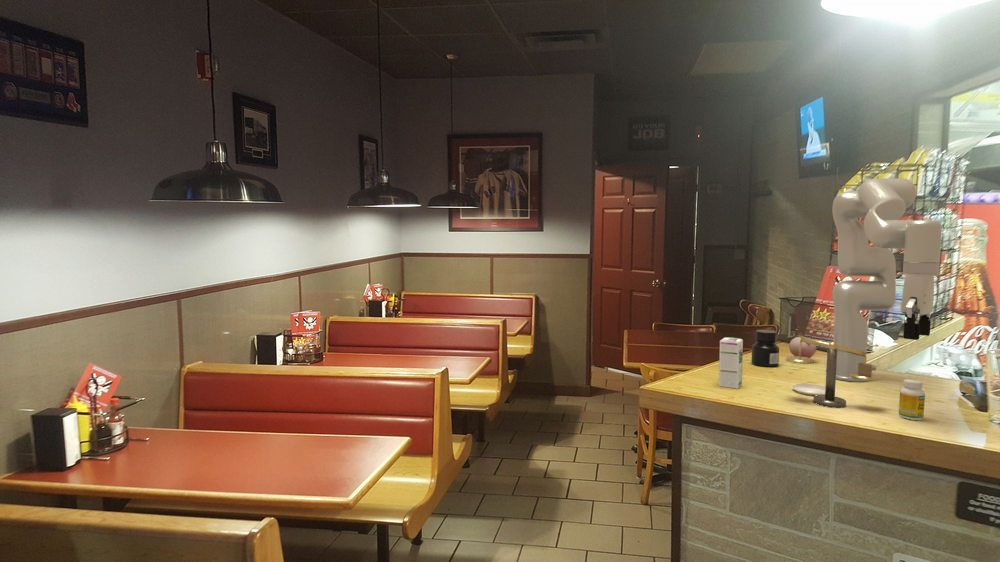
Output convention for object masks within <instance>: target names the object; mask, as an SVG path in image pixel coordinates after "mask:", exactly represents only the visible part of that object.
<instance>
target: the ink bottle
mask: <svg viewBox="0 0 1000 562" xmlns="http://www.w3.org/2000/svg"><path fill="white" fill-rule="evenodd" d="M777 333H778V332H777V331H776V330H771V329H756V330H755V342H754V343H753V344H752V346H751V364H752V365H754V366H758V367H766V368H767V367H768V368H774V367H778V366H779V365H780V364H779V363H780V361H779V360H780V347H779V346H778V345H777V337H778V334H777Z"/></svg>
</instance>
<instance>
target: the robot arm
mask: <svg viewBox="0 0 1000 562" xmlns="http://www.w3.org/2000/svg"><path fill="white" fill-rule="evenodd" d="M916 197H917V189H916V186H915V184H914V183H913V181H911V180H910V179H908V178H901V177H900V178H899V177H898V178H889V177H888V178H887V177H886V178H884V177H883V178H882V177H881V178H871V179H868V180H866V181H864V182H863V183H861V184H860V185H859V186H858V190H849V191H848V190H847V191H843V192H841V193H838V194H837V195H836V196H835V197H834V199H833V202H832V218H833V222H834V225H835V229H836V232H837V267H838V271H839V272H840V274H841V275H843V276H848V277H849V276H850V277H873V278H874V280H858V279H857V280H854V279H853V280H851V279H850V280H849V279H848V280H842V281H839V282H836V284H835V285H834V286H833V287H832V292H831V294H832V300H833V301H832V302H833V313H834V317H833V319H834V320H833V338H832V339H833V340H832V342H835V343H837V345H839V346H844V347H848V348H852V349H856V350H860V351H865V352H866V353H867V350H868V349H867V347H868V332H869V331H868V330H869V324H868V322H867V320H866V318H865V317H864V316H863V315H862V313H861V311H862V312H863V311H871V312H872V311H873V312H874V311H875V312H882V311H883V312H885V311H889V310H891V309H892V308H893V307H894V306H895V303H896V296H897V295H896V293H897V291H896V289H897V288H896V287H897V286H896V284H897V283H896V282H897V281H896V279H897V278H896V276H897V274H896V272H897V271H896V270H897V269H896V268H897V267H896V257H895V255H894V253H893V251H892V250H891V249H894V250H895V249H896V250H897V249H901V250H903V265H902V275H903V276H905V277H904V281H903V286H902V287H903V288H902V294H901V295H902V296H901V297H902V298H901V305H900V313H902V315H904V316H905V317H904V324H903V339H906V340H913V341H919V340H920V336H926V337H928V336H930V335H931V321H932V320H931V319H932V318H931V313H932V312H933V309H934V297H935V277H939V276H940V262H941V248H942V247H941V246H942V245H941V244H942V229H943V227H942V223H941V222H940V221H938V220H934V219H932V220H928V219H925V220H924V219H922V220H921V219H920V220H919V219H918V220H917V219H916V220H913V219H909V220H908V219H901V218H902V217H903V216H904V214H905V212H906V209H908V208H909V207H911V206H912V205H913V203H914V202H915V200H916ZM859 219H864V220H863V222H864V223H862V222H861V220H859ZM869 242H870V243H871V244H872V245H873V246H869ZM865 357H867V355H866V356H865ZM858 363H864V357H863V356H859V355H855V354H851V353H847V352H842V351H838V350H837V366H836V380H840V381H846V382H859V383H860V382H863V383H864V382H868V381H867V380H859V379H855V378H852V377H850V376H849V374H850V373H852V372H858ZM871 365H872V372H873V371H875V372H876V370H877V366H876V365H875V364H871Z"/></svg>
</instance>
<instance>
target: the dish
mask: <svg viewBox="0 0 1000 562" xmlns="http://www.w3.org/2000/svg"><path fill="white" fill-rule="evenodd" d="M825 386H826V385H824V386H823V385H820V384H812V383H798V384H797V383H796V384H793V385H792V386H791V387H792V390H794V391H796V392H797V393H799V394H803V395H806V394H807V396H812V395H817V396H818V395H825Z"/></svg>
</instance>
